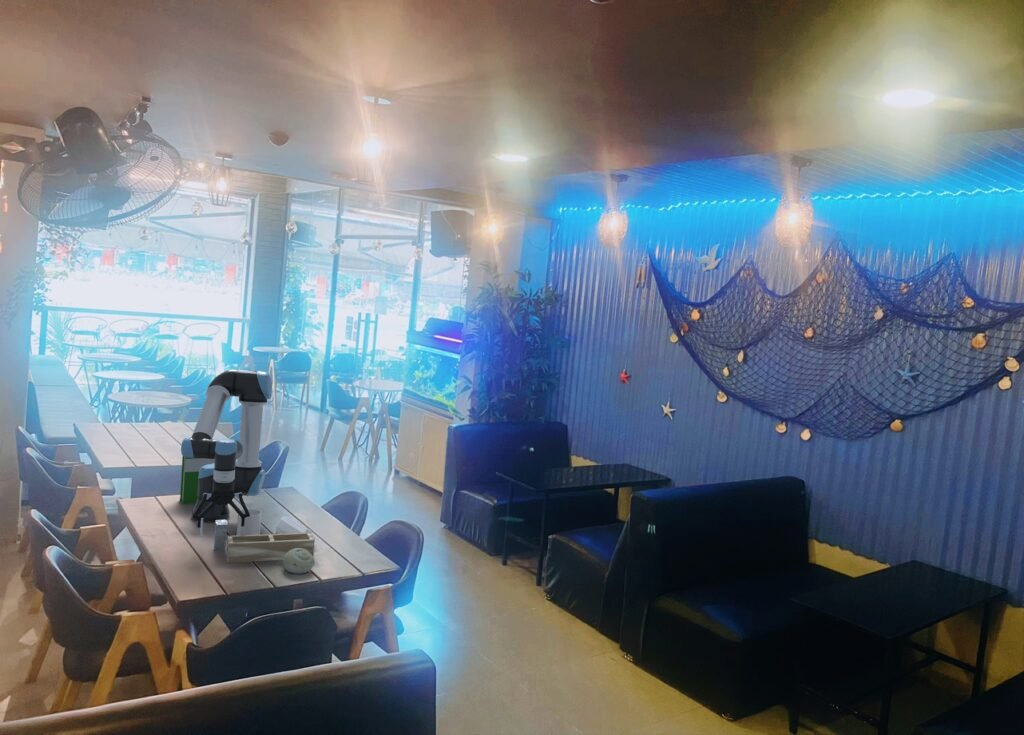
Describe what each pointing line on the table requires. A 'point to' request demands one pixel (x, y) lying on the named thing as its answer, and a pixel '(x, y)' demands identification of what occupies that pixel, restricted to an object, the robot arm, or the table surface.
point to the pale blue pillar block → (220, 535)
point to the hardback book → (191, 478)
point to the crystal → (290, 527)
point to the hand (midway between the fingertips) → (220, 535)
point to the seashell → (298, 561)
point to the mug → (251, 523)
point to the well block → (266, 546)
